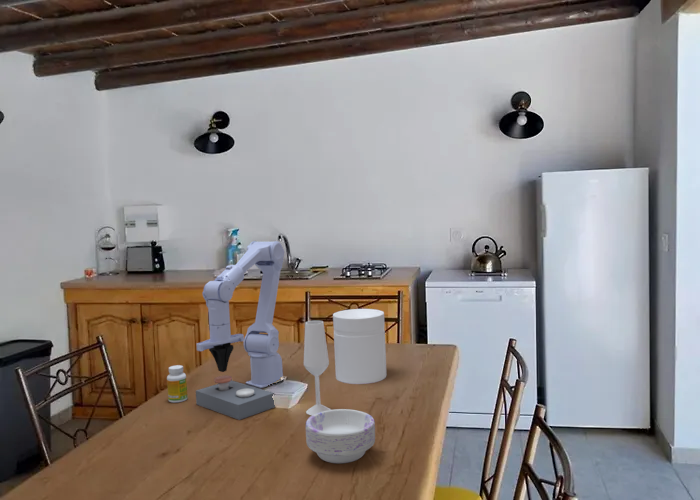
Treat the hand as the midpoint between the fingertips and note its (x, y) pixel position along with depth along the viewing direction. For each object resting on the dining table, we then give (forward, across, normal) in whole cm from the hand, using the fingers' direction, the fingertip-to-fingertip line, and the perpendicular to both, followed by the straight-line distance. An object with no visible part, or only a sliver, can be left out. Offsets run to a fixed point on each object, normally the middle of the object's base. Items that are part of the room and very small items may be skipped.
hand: (222, 370), depth 174 cm
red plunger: (+6, 0, 0) cm, 6 cm away
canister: (+9, -41, +15) cm, 45 cm away
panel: (+9, 0, +5) cm, 10 cm away
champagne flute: (+9, -11, +27) cm, 31 cm away
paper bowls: (+9, +5, +51) cm, 52 cm away
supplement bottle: (+9, +7, -13) cm, 17 cm away
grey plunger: (+8, 0, +10) cm, 13 cm away
